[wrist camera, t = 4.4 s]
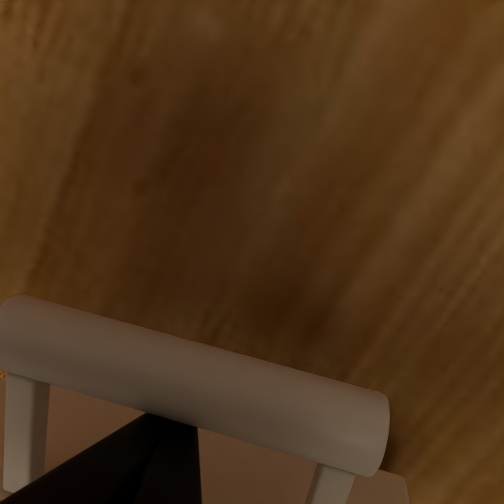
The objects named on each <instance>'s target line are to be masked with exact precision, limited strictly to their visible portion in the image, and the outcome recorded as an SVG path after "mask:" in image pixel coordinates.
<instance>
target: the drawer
mask: <svg viewBox="0 0 504 504" xmlns="http://www.w3.org/2000/svg"><path fill="white" fill-rule="evenodd" d="M0 370H3V371H7V372H8V373H7V376H6V377H4V378H3V379H2V380H1V381H0V501H1V500H3V499H5V498H6V497H8V496H9V495H11V494H13V493H14V492H16V491H18V490H19V489H21V488H23V487H24V486H26V485H28V484H29V483H31V482H32V481H34V480H36V479H37V478H39V477H41V476H42V475H44V474H46V473H47V472H49V471H51V470H52V469H54V468H55V467H57V466H59V465H60V464H62V463H64V462H65V461H67V460H69V459H70V458H72V457H74V456H75V455H77V454H78V453H80V452H82V451H83V450H85V449H87V448H88V447H90V446H92V445H93V444H95V443H96V442H98V441H100V440H101V439H103V438H105V437H106V436H108V435H110V434H111V433H113V432H115V431H116V430H118V429H119V428H121V427H123V426H124V425H126V424H128V423H129V422H131V421H133V420H134V419H136V418H138V417H139V416H141V415H142V414H144V413H146V412H147V413H150V414H153V415H157V416H160V417H164V418H167V419H170V420H174V421H177V422H181V423H184V424H188V425H191V426H194V427H198V441H199V457H200V474H201V490H202V504H410V501H409V496H408V491H407V486H406V480H405V478H404V477H403V476H401V475H397V474H394V473H390V472H387V471H383V470H380V469H378V468H379V466H380V464H381V462H382V459H383V456H384V453H385V449H386V445H387V440H388V434H389V426H390V408H389V401H388V398H387V396H386V395H384V394H383V393H382V392H378V391H374V390H371V389H367V388H363V387H360V386H356V385H353V384H349V383H345V382H342V381H338V380H334V379H331V378H327V377H323V376H320V375H316V374H312V373H309V372H305V371H301V370H298V369H294V368H290V367H287V366H283V365H280V364H276V363H272V362H269V361H265V360H261V359H258V358H254V357H250V356H247V355H243V354H239V353H236V352H232V351H228V350H225V349H221V348H217V347H214V346H210V345H207V344H203V343H199V342H196V341H192V340H188V339H185V338H181V337H177V336H174V335H170V334H166V333H163V332H159V331H155V330H152V329H148V328H144V327H141V326H137V325H134V324H130V323H126V322H123V321H119V320H115V319H112V318H108V317H104V316H101V315H97V314H93V313H90V312H86V311H82V310H79V309H75V308H71V307H68V306H64V305H60V304H57V303H53V302H50V301H46V300H42V299H39V298H35V297H31V296H28V295H23V294H20V295H14V296H12V297H10V298H8V299H6V300H5V301H4V302H3V303H2V304H1V305H0Z"/></svg>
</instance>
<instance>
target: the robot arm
mask: <svg viewBox="0 0 504 504" xmlns="http://www.w3.org/2000/svg"><path fill="white" fill-rule="evenodd" d="M0 504H202V490H201V474H200V457H199V441H198V427H194V426H191V425H188V424H184V423H181V422H177V421H174V420H170V419H167V418H164V417H160V416H157V415H153V414H150V413H147V412H146V413H144V414H142V415H141V416H139V417H138V418H136V419H134V420H133V421H131V422H129V423H128V424H126V425H124V426H123V427H121V428H119V429H118V430H116V431H115V432H113V433H111V434H110V435H108V436H106V437H105V438H103V439H101V440H100V441H98V442H96V443H95V444H93V445H92V446H90V447H88V448H87V449H85V450H83V451H82V452H80V453H78V454H77V455H75V456H74V457H72V458H70V459H69V460H67V461H65V462H64V463H62V464H60V465H59V466H57V467H55V468H54V469H52V470H51V471H49V472H47V473H46V474H44V475H42V476H41V477H39V478H37V479H36V480H34V481H32V482H31V483H29V484H28V485H26V486H24V487H23V488H21V489H19V490H18V491H16V492H14V493H13V494H11V495H9V496H8V497H6V498H5V499H3V500H1V501H0Z"/></svg>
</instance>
